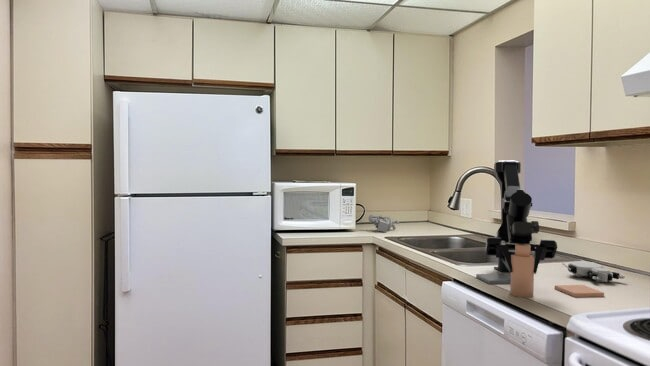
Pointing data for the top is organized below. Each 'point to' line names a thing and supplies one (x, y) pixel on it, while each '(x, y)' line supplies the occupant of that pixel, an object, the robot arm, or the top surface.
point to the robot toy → (592, 271)
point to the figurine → (382, 222)
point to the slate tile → (494, 278)
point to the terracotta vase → (522, 271)
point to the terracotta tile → (579, 290)
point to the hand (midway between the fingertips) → (523, 272)
